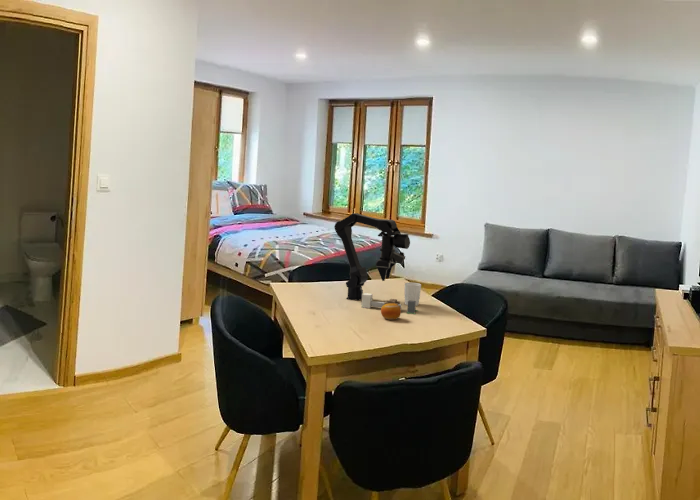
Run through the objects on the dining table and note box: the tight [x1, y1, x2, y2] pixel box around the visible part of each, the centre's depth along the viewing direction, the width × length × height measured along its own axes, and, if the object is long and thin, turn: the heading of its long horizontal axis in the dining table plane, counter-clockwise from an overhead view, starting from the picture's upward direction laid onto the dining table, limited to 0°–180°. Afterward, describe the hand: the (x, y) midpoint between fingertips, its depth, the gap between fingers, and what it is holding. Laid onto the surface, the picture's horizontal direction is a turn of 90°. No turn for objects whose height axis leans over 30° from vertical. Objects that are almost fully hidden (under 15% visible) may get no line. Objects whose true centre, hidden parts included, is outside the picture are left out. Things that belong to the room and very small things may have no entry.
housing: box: [384, 298, 419, 315], centre depth 282 cm, size 14×7×4 cm, turn 73°
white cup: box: [403, 281, 422, 307], centre depth 296 cm, size 8×8×10 cm
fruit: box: [380, 303, 402, 321], centre depth 266 cm, size 8×9×8 cm
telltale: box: [406, 300, 416, 313], centre depth 281 cm, size 3×3×5 cm
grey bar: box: [361, 292, 402, 310], centre depth 284 cm, size 18×4×6 cm, turn 74°
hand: (385, 279), depth 293 cm, fingers open, 9 cm apart
